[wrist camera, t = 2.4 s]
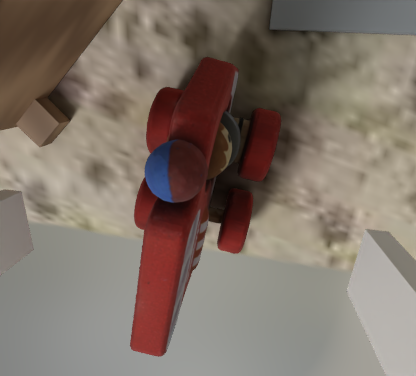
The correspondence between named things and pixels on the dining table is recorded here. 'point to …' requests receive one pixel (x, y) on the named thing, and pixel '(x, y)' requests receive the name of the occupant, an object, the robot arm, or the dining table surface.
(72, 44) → the screen
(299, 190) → the dining table surface
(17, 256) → the robot arm
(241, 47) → the dining table surface
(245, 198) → the toy fire truck
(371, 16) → the mat
